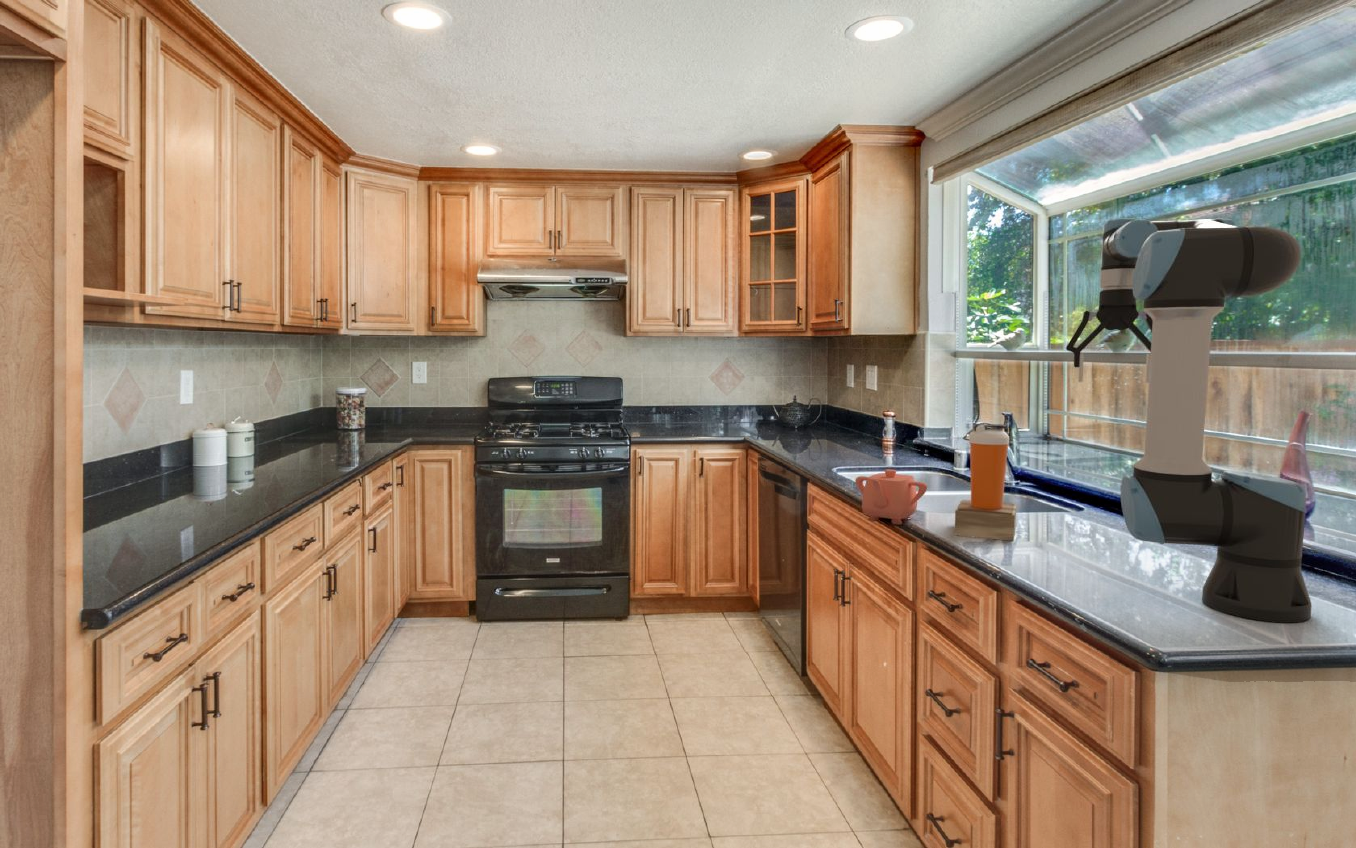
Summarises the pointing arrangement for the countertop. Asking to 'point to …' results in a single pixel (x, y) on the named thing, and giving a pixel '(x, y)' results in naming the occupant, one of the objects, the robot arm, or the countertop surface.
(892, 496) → the teapot
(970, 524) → the block
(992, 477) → the shaker bottle
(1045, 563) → the countertop surface
